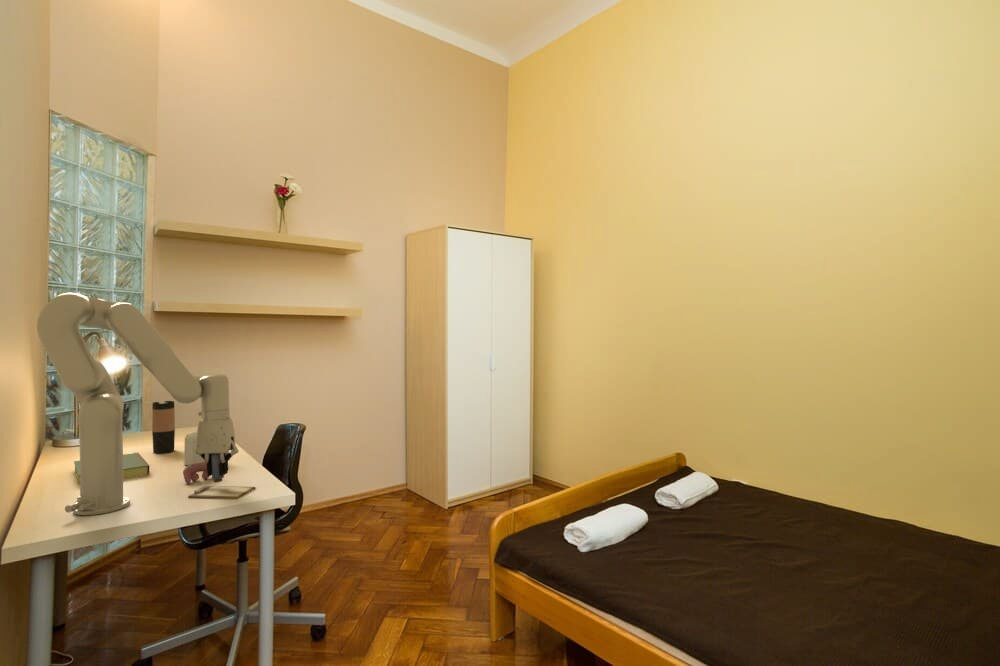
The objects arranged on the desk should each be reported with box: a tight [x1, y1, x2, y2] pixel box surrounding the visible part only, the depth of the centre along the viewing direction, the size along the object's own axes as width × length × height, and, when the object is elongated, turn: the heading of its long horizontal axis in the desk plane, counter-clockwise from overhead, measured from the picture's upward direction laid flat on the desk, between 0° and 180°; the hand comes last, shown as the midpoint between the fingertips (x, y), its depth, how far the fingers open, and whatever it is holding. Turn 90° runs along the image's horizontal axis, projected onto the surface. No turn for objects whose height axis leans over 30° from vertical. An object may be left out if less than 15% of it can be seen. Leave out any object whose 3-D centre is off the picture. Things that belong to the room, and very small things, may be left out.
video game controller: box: [182, 462, 210, 485], centre depth 172 cm, size 10×5×7 cm, turn 135°
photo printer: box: [183, 430, 205, 466], centre depth 192 cm, size 10×4×12 cm, turn 113°
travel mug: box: [151, 400, 176, 455], centre depth 211 cm, size 8×8×20 cm
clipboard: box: [187, 485, 256, 500], centre depth 158 cm, size 10×15×1 cm, turn 86°
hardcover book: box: [73, 452, 150, 485], centre depth 181 cm, size 25×19×4 cm
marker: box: [211, 453, 225, 483], centre depth 161 cm, size 3×3×11 cm
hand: (217, 474), depth 161 cm, fingers closed on marker, 3 cm apart
